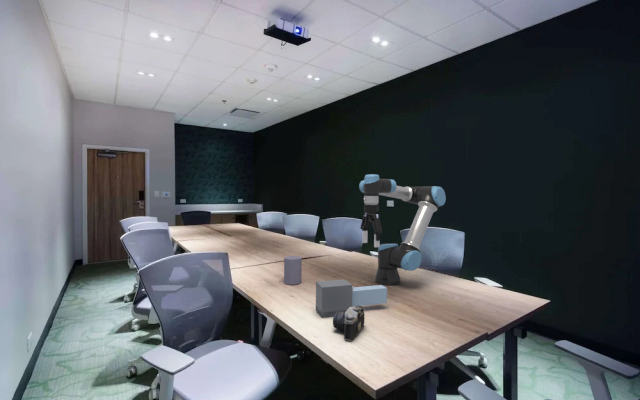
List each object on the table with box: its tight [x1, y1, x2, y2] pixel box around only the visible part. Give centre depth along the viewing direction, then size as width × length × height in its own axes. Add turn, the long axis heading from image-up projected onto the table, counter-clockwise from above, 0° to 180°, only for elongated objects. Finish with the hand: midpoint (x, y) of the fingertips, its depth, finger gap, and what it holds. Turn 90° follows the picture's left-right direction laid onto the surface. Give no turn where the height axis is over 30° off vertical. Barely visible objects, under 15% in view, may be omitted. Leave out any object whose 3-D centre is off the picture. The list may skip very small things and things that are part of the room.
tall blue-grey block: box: [352, 284, 388, 308], centre depth 141 cm, size 18×5×7 cm, turn 107°
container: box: [283, 255, 303, 286], centre depth 180 cm, size 10×10×15 cm
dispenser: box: [315, 279, 354, 319], centre depth 136 cm, size 14×9×13 cm, turn 107°
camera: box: [332, 306, 366, 342], centre depth 117 cm, size 16×10×10 cm, turn 154°
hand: (370, 244), depth 158 cm, fingers open, 13 cm apart
